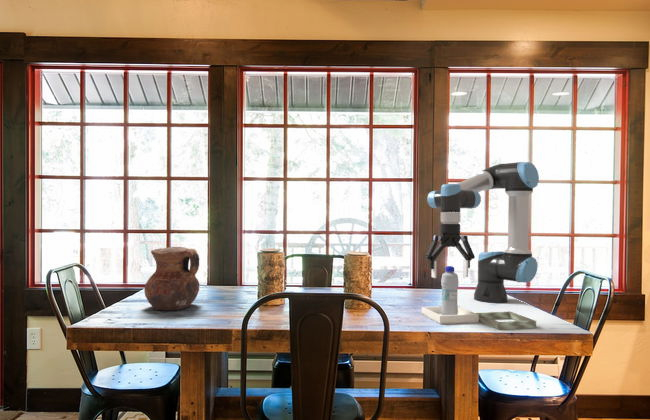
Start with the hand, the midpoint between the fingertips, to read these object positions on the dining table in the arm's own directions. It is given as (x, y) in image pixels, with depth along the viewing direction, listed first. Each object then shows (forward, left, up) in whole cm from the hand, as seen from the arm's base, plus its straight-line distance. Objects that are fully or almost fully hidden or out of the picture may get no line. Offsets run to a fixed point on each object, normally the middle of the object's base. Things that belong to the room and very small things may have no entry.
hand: (449, 277), depth 179 cm
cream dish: (0, 0, -16) cm, 16 cm away
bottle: (0, 0, -16) cm, 16 cm away
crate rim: (-17, +11, -16) cm, 26 cm away
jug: (+108, -38, -16) cm, 116 cm away
